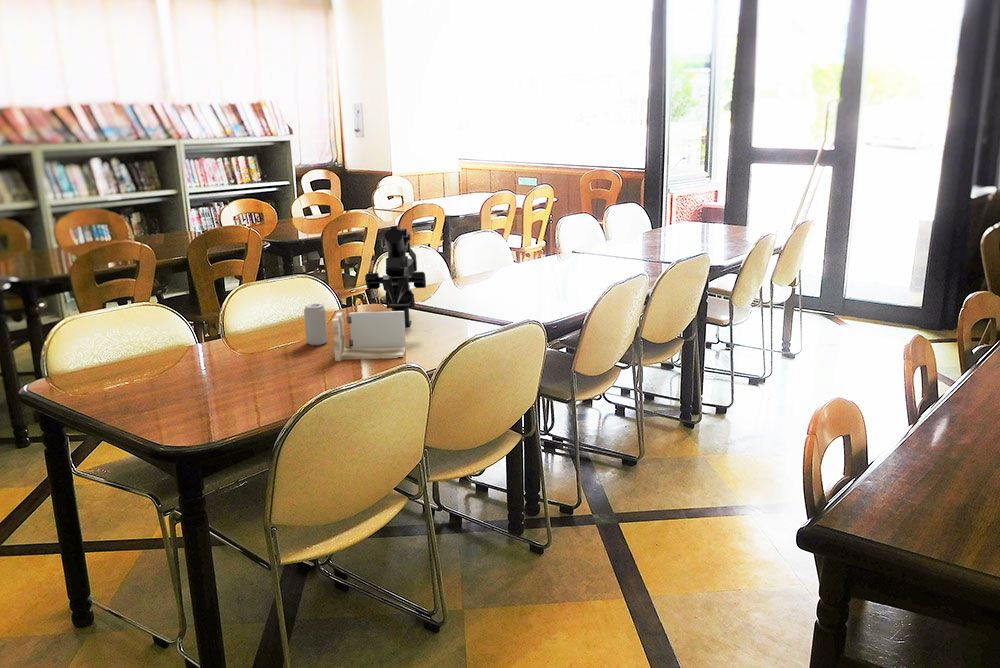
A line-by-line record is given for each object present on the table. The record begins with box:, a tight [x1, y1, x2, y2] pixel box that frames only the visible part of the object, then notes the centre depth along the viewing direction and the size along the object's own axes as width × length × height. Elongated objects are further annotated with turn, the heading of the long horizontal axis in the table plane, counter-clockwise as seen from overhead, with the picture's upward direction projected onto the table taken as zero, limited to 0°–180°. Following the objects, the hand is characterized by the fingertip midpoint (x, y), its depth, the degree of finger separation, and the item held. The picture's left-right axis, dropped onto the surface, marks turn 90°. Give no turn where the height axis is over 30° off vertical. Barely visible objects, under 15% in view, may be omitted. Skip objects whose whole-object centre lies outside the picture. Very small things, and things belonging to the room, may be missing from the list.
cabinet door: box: [346, 310, 407, 349], centre depth 238 cm, size 2×17×11 cm, turn 93°
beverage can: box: [303, 303, 329, 346], centre depth 246 cm, size 6×6×12 cm
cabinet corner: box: [331, 311, 406, 362], centre depth 232 cm, size 10×19×12 cm, turn 92°
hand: (395, 303), depth 250 cm, fingers closed
